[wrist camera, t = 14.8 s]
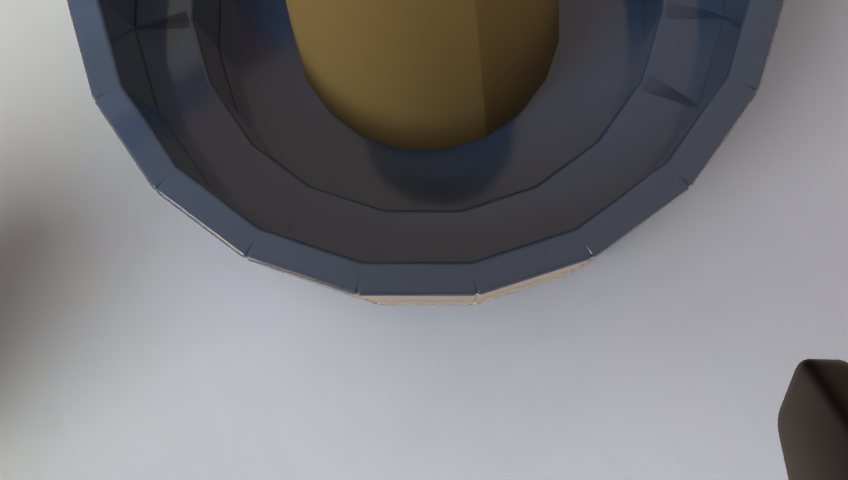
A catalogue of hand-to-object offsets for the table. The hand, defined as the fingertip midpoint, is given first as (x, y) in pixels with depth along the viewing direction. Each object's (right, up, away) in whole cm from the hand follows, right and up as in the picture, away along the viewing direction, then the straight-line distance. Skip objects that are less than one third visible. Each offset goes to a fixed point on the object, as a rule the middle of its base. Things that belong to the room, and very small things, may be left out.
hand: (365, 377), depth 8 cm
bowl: (+1, +6, +10) cm, 12 cm away
